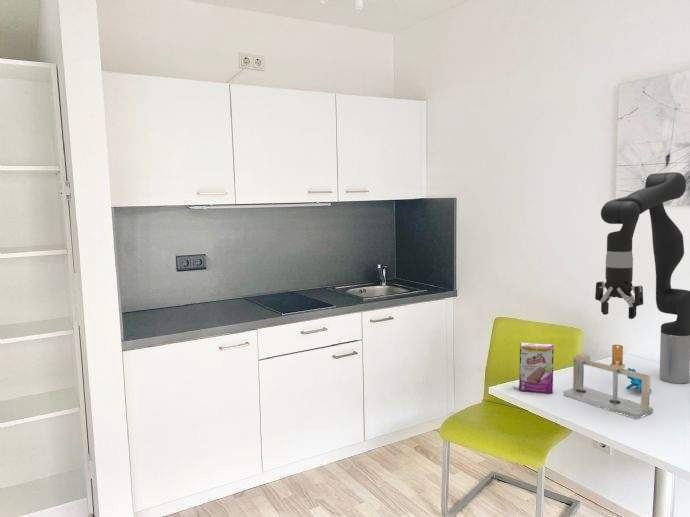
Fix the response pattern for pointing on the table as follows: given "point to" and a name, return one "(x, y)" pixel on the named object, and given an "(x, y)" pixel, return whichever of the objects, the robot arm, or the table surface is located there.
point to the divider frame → (606, 399)
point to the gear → (634, 381)
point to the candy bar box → (536, 367)
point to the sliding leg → (616, 367)
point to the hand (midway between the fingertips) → (618, 316)
